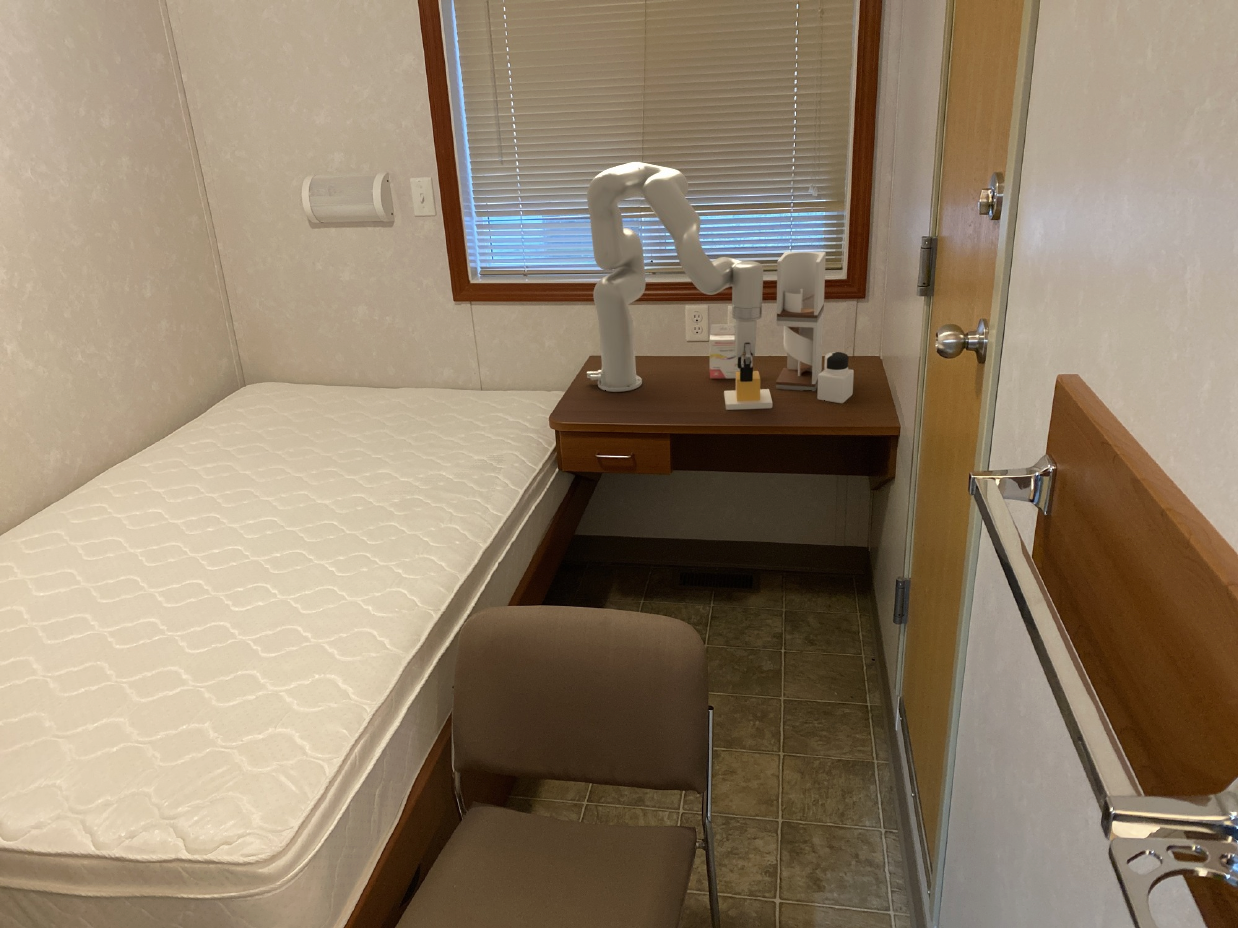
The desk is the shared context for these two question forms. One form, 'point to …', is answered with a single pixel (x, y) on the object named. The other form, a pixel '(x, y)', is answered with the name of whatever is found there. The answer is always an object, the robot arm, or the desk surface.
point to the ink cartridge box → (723, 352)
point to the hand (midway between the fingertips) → (744, 374)
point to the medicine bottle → (835, 379)
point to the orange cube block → (748, 388)
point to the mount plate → (733, 404)
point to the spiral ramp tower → (801, 317)
